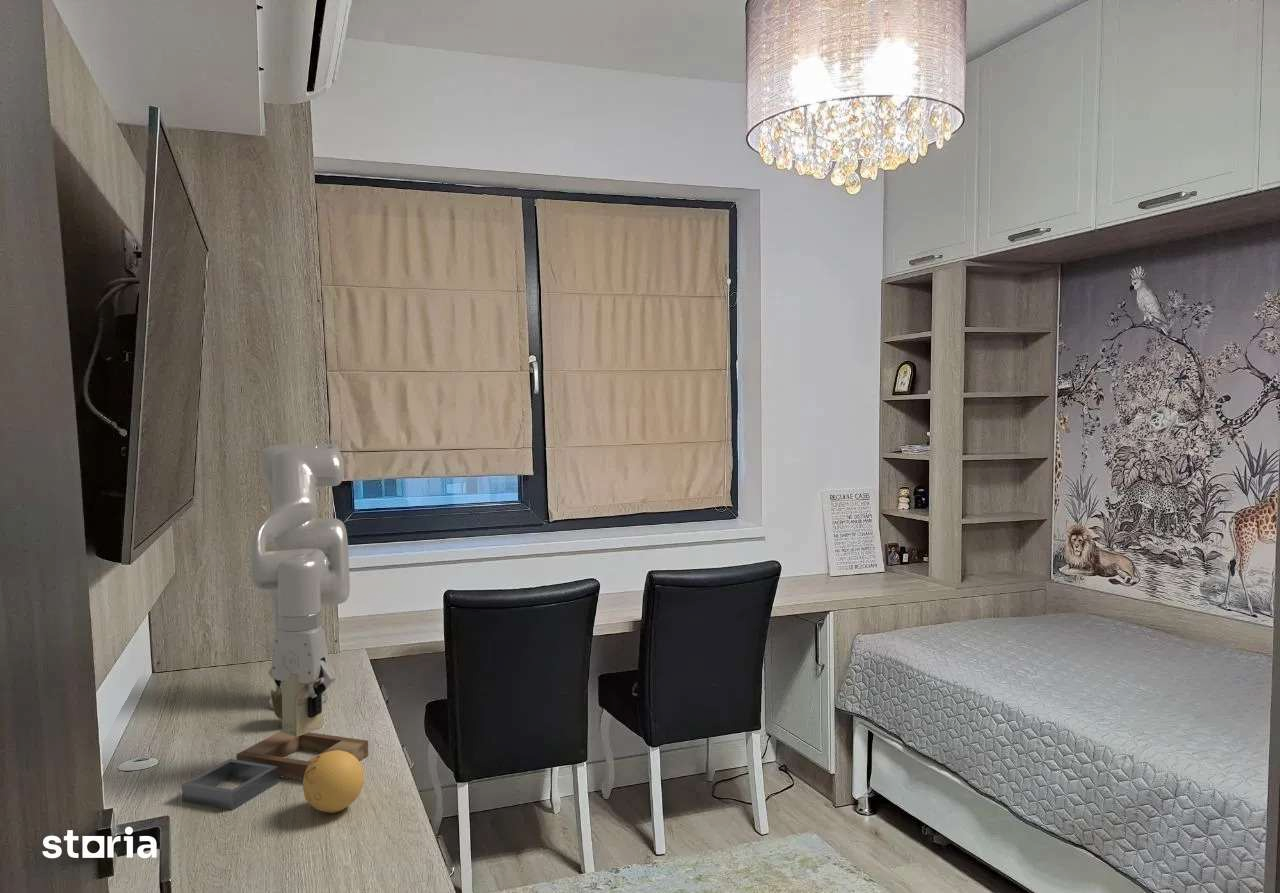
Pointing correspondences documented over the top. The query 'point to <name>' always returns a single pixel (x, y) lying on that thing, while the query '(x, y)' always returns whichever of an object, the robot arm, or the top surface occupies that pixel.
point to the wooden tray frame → (285, 744)
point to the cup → (277, 702)
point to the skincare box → (297, 708)
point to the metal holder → (208, 794)
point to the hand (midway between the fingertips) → (302, 712)
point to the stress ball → (333, 781)
